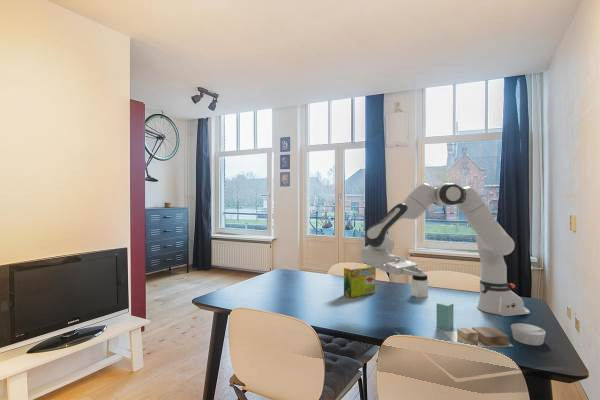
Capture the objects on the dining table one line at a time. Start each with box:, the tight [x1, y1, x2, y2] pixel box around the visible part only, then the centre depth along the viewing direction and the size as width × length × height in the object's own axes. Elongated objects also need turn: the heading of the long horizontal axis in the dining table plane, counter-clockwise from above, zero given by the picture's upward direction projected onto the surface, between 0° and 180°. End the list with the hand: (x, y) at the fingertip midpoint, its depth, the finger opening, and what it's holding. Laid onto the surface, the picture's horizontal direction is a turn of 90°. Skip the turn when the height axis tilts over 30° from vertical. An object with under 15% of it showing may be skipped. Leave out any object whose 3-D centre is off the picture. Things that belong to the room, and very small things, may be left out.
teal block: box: [435, 300, 454, 331], centre depth 144 cm, size 5×5×11 cm
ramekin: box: [510, 322, 546, 346], centre depth 131 cm, size 11×11×5 cm
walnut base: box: [471, 326, 510, 347], centre depth 131 cm, size 9×9×4 cm
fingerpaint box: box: [343, 264, 377, 298], centre depth 195 cm, size 19×7×16 cm, turn 122°
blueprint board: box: [443, 331, 514, 348], centre depth 133 cm, size 20×14×1 cm
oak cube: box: [456, 326, 478, 346], centre depth 128 cm, size 5×5×5 cm
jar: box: [411, 272, 429, 299], centre depth 191 cm, size 9×8×12 cm
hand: (417, 273), depth 154 cm, fingers open, 8 cm apart
